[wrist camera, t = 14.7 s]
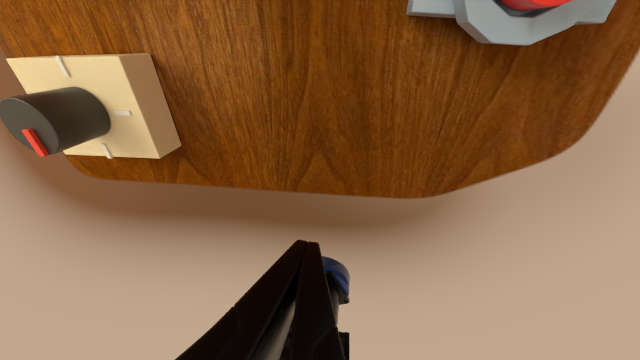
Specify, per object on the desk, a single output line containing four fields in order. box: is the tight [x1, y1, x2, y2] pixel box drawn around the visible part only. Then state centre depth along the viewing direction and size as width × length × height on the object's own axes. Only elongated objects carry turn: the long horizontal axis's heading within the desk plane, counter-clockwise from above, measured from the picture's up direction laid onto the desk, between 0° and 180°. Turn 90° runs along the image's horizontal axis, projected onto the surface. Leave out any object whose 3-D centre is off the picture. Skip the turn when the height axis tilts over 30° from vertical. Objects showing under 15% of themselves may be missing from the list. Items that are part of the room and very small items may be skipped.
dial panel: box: [6, 53, 181, 159], centre depth 21 cm, size 10×8×3 cm
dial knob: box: [0, 87, 110, 156], centre depth 18 cm, size 4×4×4 cm
